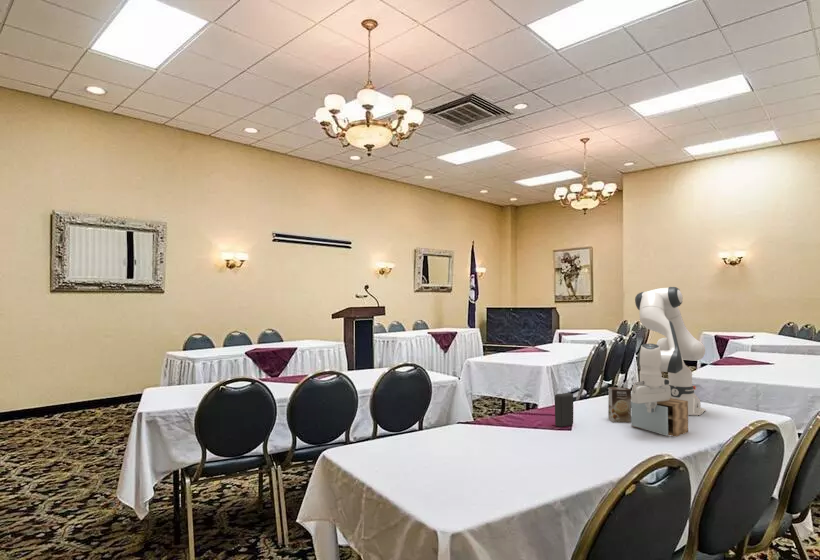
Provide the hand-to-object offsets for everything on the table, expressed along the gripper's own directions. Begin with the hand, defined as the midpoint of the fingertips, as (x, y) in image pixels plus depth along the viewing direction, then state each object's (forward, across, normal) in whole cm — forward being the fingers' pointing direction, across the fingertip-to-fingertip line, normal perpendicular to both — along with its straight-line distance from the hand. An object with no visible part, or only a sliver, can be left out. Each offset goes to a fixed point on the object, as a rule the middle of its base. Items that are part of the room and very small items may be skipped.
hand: (651, 412), depth 218 cm
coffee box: (+10, +5, +23) cm, 26 cm away
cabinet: (+10, +11, +5) cm, 16 cm away
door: (+9, +3, +4) cm, 10 cm away
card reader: (+10, -25, +27) cm, 38 cm away
